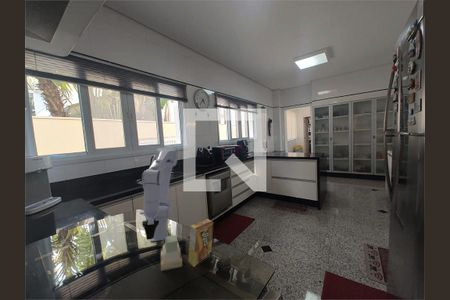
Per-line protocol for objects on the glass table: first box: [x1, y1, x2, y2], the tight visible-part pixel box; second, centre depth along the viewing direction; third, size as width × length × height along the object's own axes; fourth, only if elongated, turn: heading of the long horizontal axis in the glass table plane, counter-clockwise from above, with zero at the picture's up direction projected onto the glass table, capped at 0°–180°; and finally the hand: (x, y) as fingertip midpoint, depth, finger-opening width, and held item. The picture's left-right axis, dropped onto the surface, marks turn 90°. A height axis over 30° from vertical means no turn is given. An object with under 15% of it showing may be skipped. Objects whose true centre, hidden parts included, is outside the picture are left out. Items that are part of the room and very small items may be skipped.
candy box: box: [188, 218, 214, 268], centre depth 69 cm, size 9×4×15 cm, turn 137°
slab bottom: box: [160, 247, 183, 271], centre depth 67 cm, size 8×8×3 cm
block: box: [164, 234, 179, 253], centre depth 67 cm, size 4×4×4 cm
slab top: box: [162, 243, 181, 262], centre depth 67 cm, size 6×6×3 cm
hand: (150, 233), depth 68 cm, fingers open, 7 cm apart
